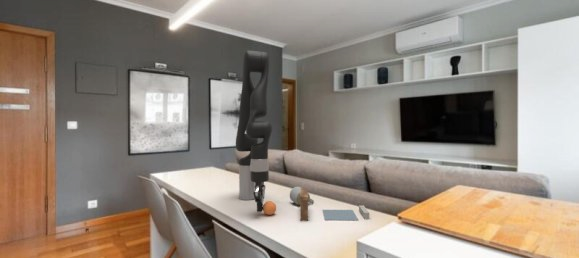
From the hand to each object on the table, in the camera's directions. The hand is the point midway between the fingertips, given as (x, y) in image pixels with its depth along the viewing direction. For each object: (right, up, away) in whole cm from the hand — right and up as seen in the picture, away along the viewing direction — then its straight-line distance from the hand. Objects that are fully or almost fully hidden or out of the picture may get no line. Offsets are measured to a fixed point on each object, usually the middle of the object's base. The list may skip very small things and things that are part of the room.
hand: (259, 211), depth 114 cm
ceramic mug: (+18, -2, +16) cm, 25 cm away
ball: (+4, +1, 0) cm, 4 cm away
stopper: (+43, -1, -1) cm, 43 cm away
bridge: (+18, -2, 0) cm, 18 cm away
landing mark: (+33, -1, -1) cm, 33 cm away
